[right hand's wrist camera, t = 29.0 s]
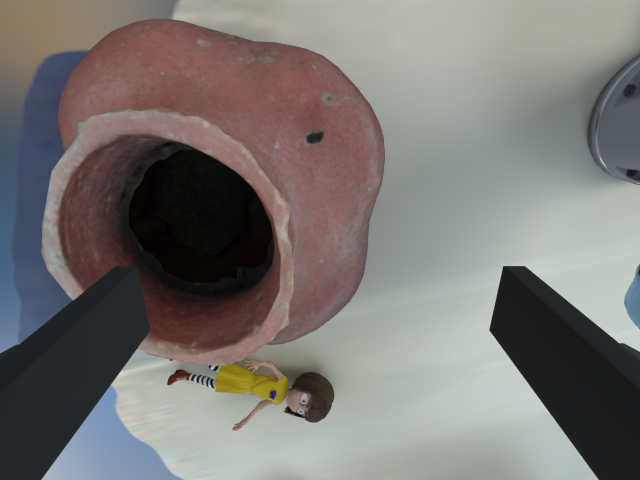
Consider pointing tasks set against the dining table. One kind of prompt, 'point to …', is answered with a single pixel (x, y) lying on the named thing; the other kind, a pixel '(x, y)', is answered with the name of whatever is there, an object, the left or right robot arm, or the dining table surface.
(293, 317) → the clay pot
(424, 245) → the dining table surface
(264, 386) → the figurine
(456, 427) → the dining table surface
